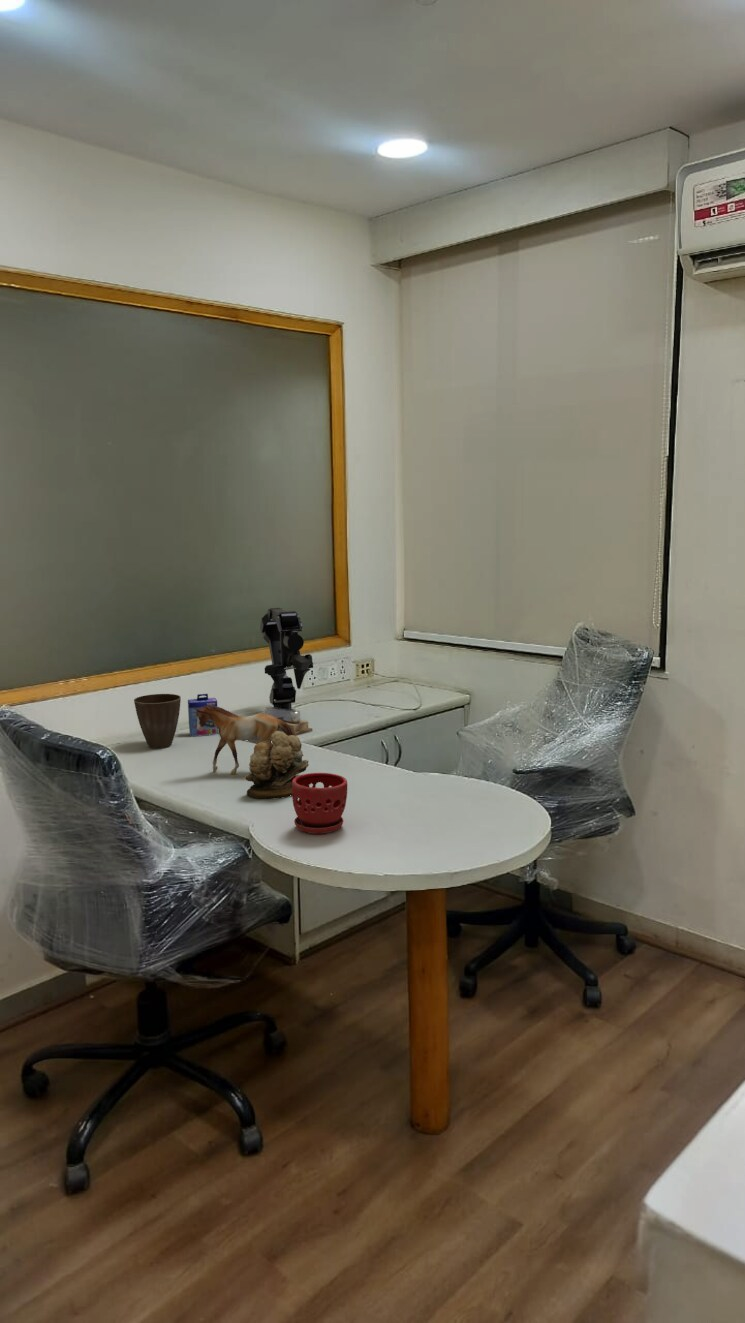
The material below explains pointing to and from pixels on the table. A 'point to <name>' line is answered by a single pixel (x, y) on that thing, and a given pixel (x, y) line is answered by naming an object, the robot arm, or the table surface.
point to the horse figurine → (239, 728)
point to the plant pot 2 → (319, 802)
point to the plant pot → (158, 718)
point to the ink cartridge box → (196, 703)
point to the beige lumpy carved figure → (275, 767)
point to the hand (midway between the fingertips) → (290, 690)
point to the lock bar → (283, 714)
